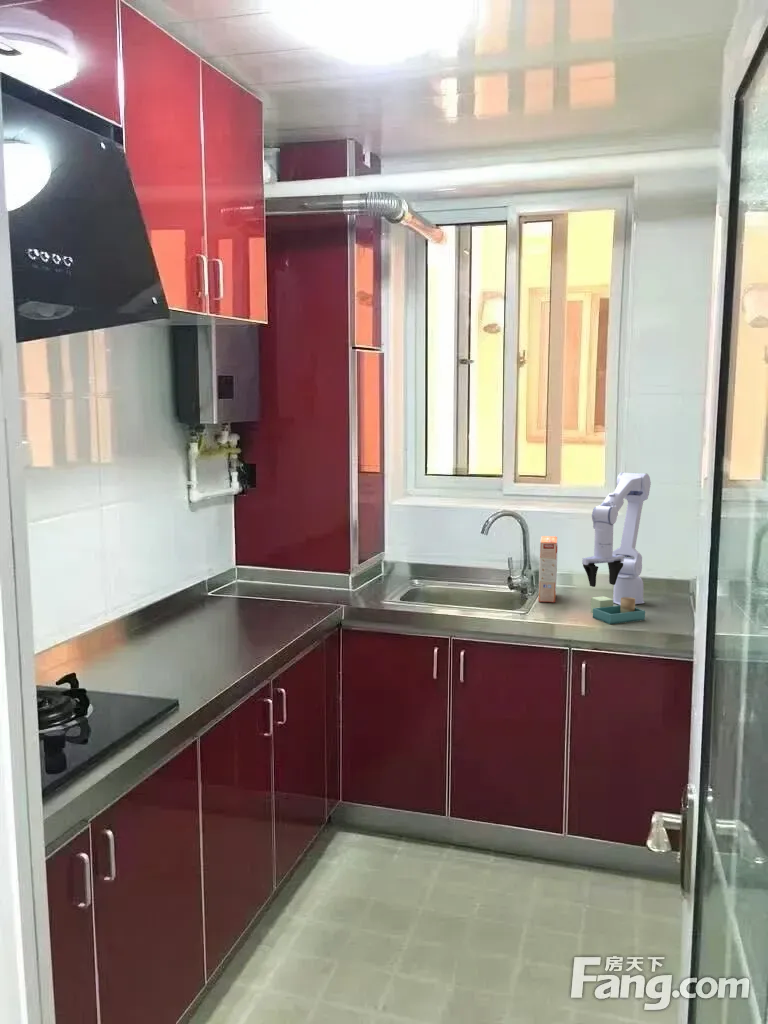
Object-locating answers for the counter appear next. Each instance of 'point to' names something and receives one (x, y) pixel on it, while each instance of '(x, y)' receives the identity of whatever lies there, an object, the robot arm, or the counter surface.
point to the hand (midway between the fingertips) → (602, 585)
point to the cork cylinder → (627, 604)
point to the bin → (617, 615)
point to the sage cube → (600, 602)
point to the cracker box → (548, 569)
